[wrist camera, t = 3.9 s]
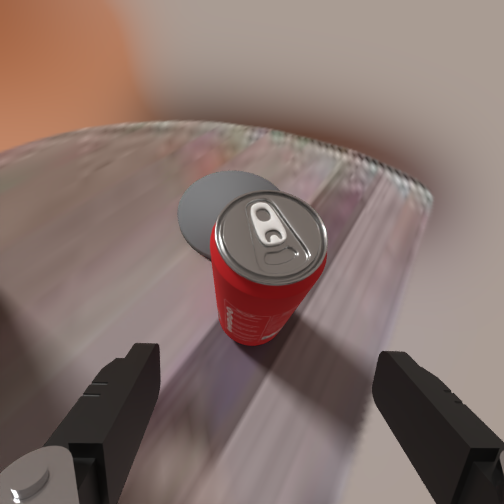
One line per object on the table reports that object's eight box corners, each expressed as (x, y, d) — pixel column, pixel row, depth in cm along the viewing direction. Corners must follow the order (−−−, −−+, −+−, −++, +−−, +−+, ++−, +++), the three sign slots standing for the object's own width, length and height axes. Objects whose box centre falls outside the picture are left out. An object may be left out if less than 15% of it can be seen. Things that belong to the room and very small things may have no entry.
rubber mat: (158, 204, 26) (156, 199, 25) (244, 163, 30) (245, 157, 29) (221, 286, 22) (220, 282, 21) (310, 226, 26) (312, 221, 25)
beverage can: (229, 358, 19) (230, 309, 9) (211, 295, 21) (194, 198, 11) (292, 335, 20) (357, 268, 10) (268, 278, 23) (301, 176, 12)
